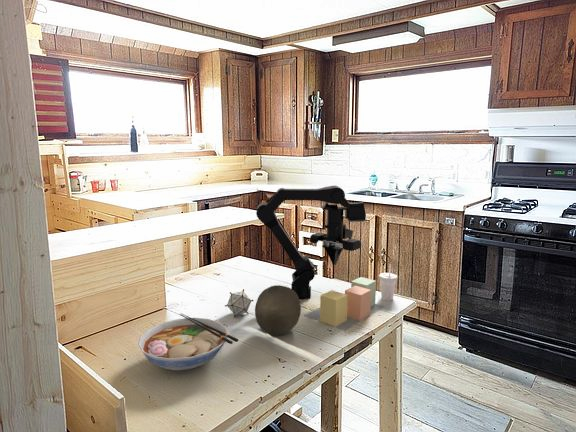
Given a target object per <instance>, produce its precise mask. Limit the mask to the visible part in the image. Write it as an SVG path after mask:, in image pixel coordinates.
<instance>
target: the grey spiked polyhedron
mask: <svg viewBox="0 0 576 432" xmlns="http://www.w3.org/2000/svg"><path fill="white" fill-rule="evenodd" d="M244 291H245V289H244V288H243V289H242V291H238V292H234V293H233V292H232V291H229V294H230V296H229V299H228V301H227V304H225V305H224V307H227V308H229V310H230V311H231V313H232V314H233V318H236V316H237V315H238V316H239V315H241V314H242V315H243V314H245V313H246V314H247V315H249V308H250V305H251V304H252V302H254V299H251V298H250V297H249V296H248V295H247V294H246V293H245V292H244Z"/></svg>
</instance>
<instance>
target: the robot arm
mask: <svg viewBox="0 0 576 432" xmlns="http://www.w3.org/2000/svg"><path fill="white" fill-rule="evenodd" d="M284 201H319V202H324V204H323V205H322V206H321V209H322V210H323V211H326V224H324V228H325V229H326V233H323V232H316V233H312V234H311V235H310V236H309V243H310V244H311V243H312V244H317V243H319V242H323V245H321V247H322V248H324V250H325V253H326V254H327V256H328V257H329V260H330V262H331V264H332V265H333V266H336V265H337V263H338V261H339V258H340V255H341V253H342V252H343V250H345V251H349V252H353V251H356V250H359V249H360V250H361V249H362V241H361V240H360V239H355V238H353V233H354V230H352V229H349V228H347V225H346V224H345V223H344V219H345V220H347V222H349V223H350V222H351V223H354V222H355V223H358V222H359V223H361V222H364V223H365V222H366V218H367V212H366V207H365V202H363V201H362V202H361V201H360V202H349V200H348V199H347V198H346V193H345V191H344V190H343V189H342V187H340V186H338V185H329V186H324V187H320V188H319V187H318V188H284V187H280V188H278V189H277V191H276V192H274V194H273V195H271V197H270V196H269V198H268V199H267V200H266V201H262V202H261V203H259V204H258V206H257V208H256V212H255V214H256V217H257V218H258V220H259V221H260V222H261V223H263V225H264V226H265V227H266V228H267V229H269V230H270V231H271V233H272V234H273V235H274V237H275V238H276V240H277V241H278V243H279V244H280V245H281V247H282V249H283V250H284V252H285V253H286V254H287V256H288V257H289V259H290V260H291V261H292V264H293V266H294V268H295V271H294V272H293V273H292V274H291V278H292V282H291V284H290V285H291V287H290V288H291V289H292V290H294V291H295V293H296V294H297V295H298V297H299V300H307V299H308V300H309V299H311V298H312V287H311V285H310V283H311V281H313V280H314V278H315V275H316V272H315V269H316V268H315V265H314V262H313V261H311V260H310V258H309V256H308V254H306V255H305V256H304V255H303V254H301V253H300V251H299V250H298V248H297V247H296V245H295V244H294V242H293V241H292V239H291V238H290V237H289V235H288V234H287V232H286V230H285V229H284V228H283V226H282V225H281V223H280V221H279V218H278V216H277V214H276V210H277V209H278V208H279V207H280V206H281V205H282V204H283V203H284ZM338 205H341V206H338Z"/></svg>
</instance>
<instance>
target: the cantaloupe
mask: <svg viewBox="0 0 576 432" xmlns="http://www.w3.org/2000/svg"><path fill="white" fill-rule="evenodd" d="M301 307H302V306H301V301H300V300H299V297H298V295H297V294H296V293H295V291H294V290H292V289H291V287H288V286H285V285H281V284H277V285H271V286H268V287H267V288H265V289H263V290H262V291H261V293H260V294H259V295H258V297H257V300H256V303H255V307H254V314H255V315H254V316H255V320H256V322H257V325H258V326H259V328H260V329H261V330H262V331H263V332H265V334H267V335H269V336H273V337H274V336H282V335H283V336H284V335H285V334H288V333H289V332H290V331H292V330H293V329H294V328H295V326H296V325H297V324H298V322H299V320H300V316H301V310H302V308H301Z"/></svg>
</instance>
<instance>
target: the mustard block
mask: <svg viewBox="0 0 576 432" xmlns="http://www.w3.org/2000/svg"><path fill="white" fill-rule="evenodd" d="M319 297H320V299H319V301H320V304H319V305H320V307H319V308H320V321H322V322H324V323H323V324H325V323H327V324H330V325H333V326H335V327H334V328H336V326H338V325H340V324H341V323H343V322H345V321H347V297H348V295H347V294H345V293H343V292H340V291H336V290H333V289H331V290H329V291H327V292H325V293H323V294H320V296H319ZM322 322H321V323H322ZM327 324H326V325H327ZM330 325H329V326H330ZM333 326H332V327H333Z"/></svg>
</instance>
